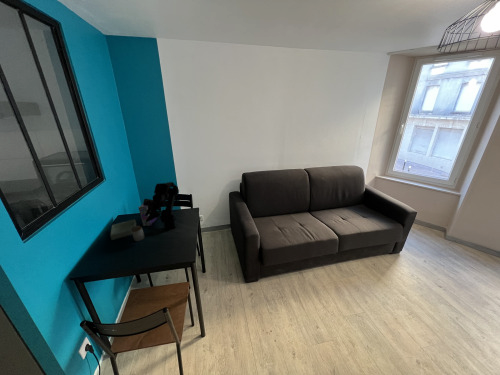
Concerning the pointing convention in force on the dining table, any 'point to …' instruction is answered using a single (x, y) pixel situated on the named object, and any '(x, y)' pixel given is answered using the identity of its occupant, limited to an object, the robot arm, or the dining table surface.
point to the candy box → (143, 211)
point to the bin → (122, 229)
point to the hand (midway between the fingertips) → (146, 218)
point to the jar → (137, 233)
